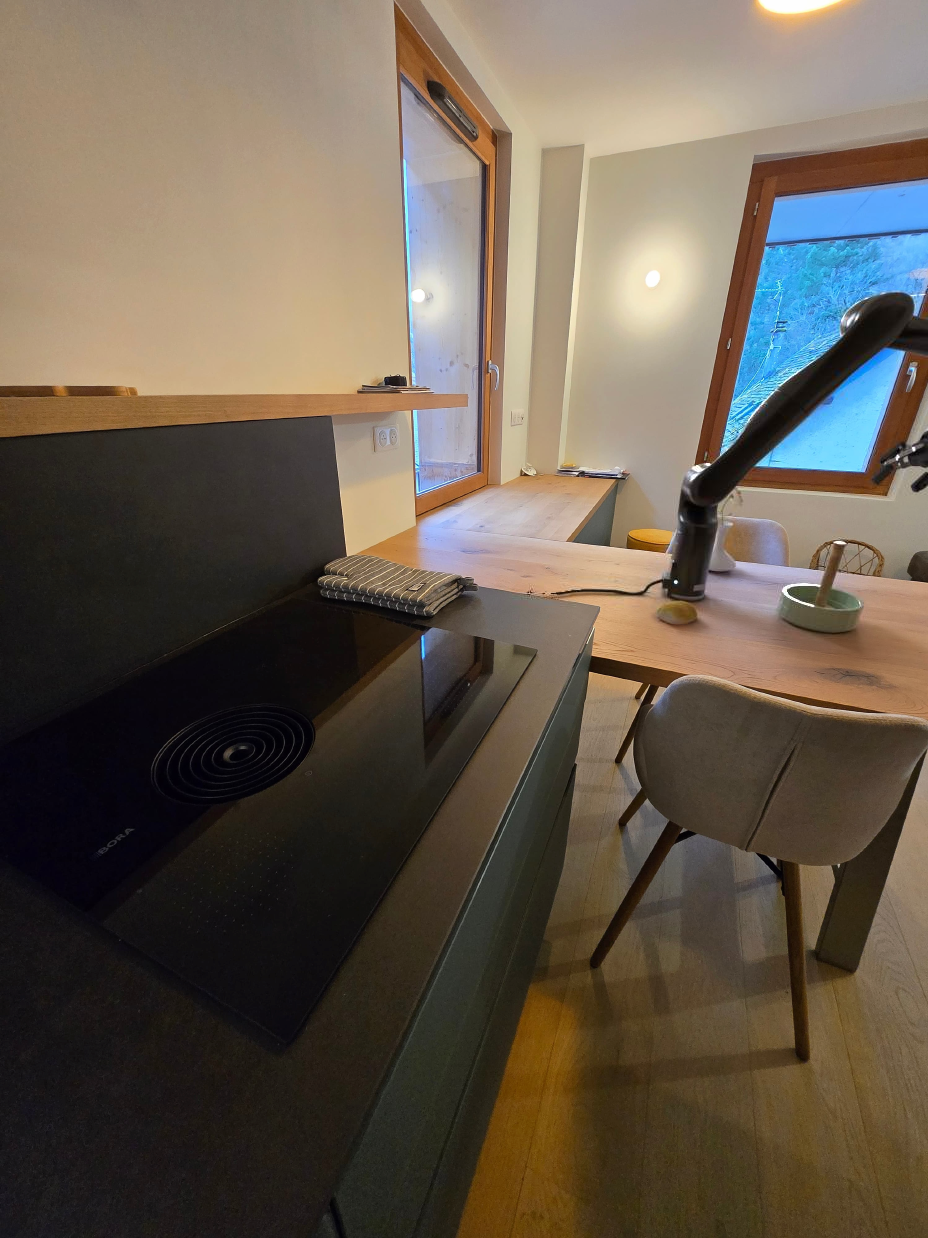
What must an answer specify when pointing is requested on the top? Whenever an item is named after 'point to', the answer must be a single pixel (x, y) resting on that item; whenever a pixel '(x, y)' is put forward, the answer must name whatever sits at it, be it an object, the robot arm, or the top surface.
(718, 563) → the flower in vase
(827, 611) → the bowl
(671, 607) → the bread roll
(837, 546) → the wooden plunger
